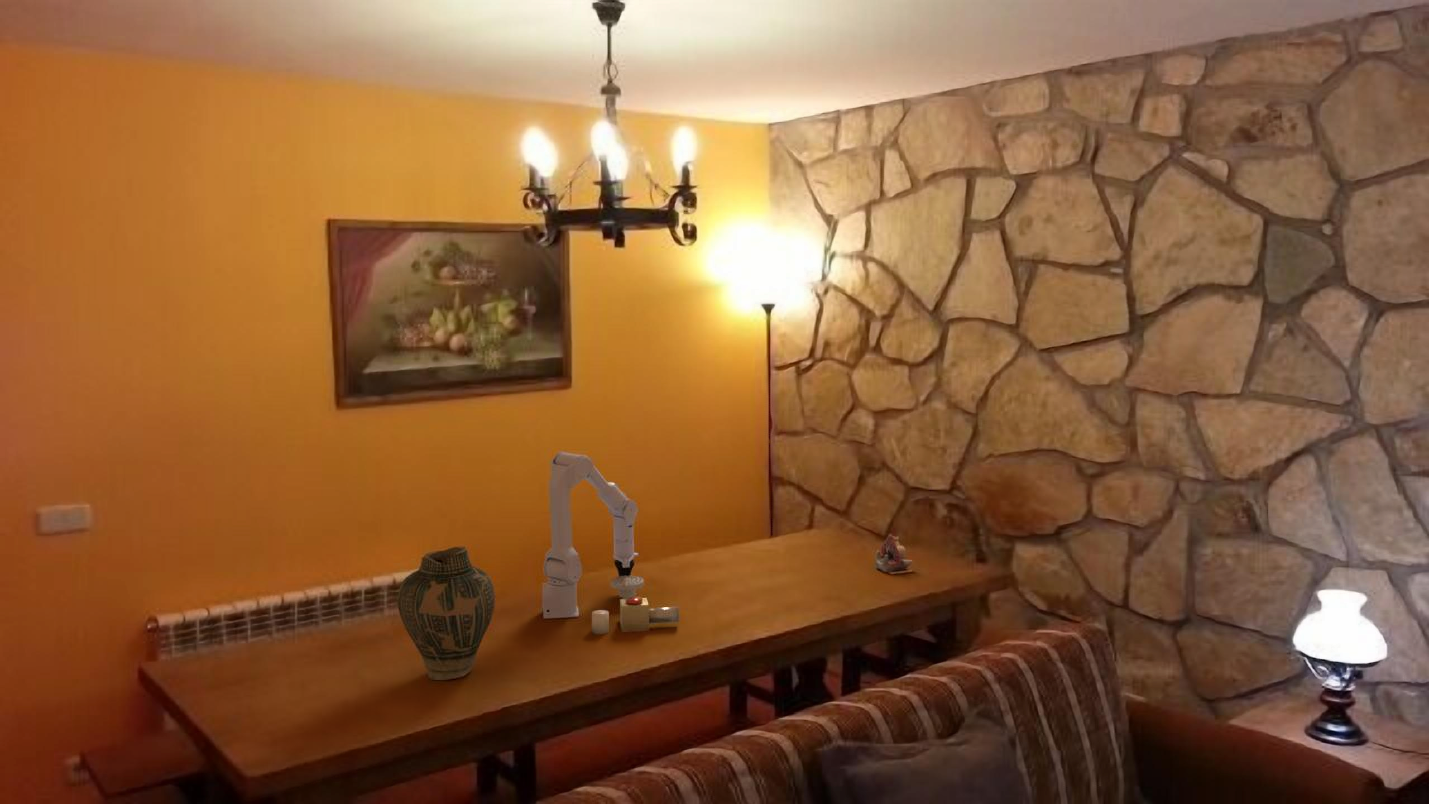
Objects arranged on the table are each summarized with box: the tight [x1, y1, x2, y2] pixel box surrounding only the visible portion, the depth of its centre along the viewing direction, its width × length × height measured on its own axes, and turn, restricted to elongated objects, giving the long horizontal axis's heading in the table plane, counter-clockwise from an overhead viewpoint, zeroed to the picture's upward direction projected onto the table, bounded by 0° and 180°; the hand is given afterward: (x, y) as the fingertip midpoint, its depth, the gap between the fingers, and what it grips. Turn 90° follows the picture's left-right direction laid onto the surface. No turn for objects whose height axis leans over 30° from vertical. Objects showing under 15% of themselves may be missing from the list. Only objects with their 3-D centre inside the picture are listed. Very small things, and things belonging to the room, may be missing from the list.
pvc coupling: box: [591, 609, 610, 635], centre depth 299 cm, size 4×4×5 cm
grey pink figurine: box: [873, 533, 914, 575], centre depth 356 cm, size 11×11×12 cm
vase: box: [397, 546, 496, 681], centre depth 268 cm, size 22×22×30 cm
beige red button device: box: [619, 596, 680, 633], centre depth 304 cm, size 15×11×8 cm
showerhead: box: [609, 574, 645, 599], centre depth 323 cm, size 9×7×10 cm
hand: (624, 585), depth 331 cm, fingers closed
